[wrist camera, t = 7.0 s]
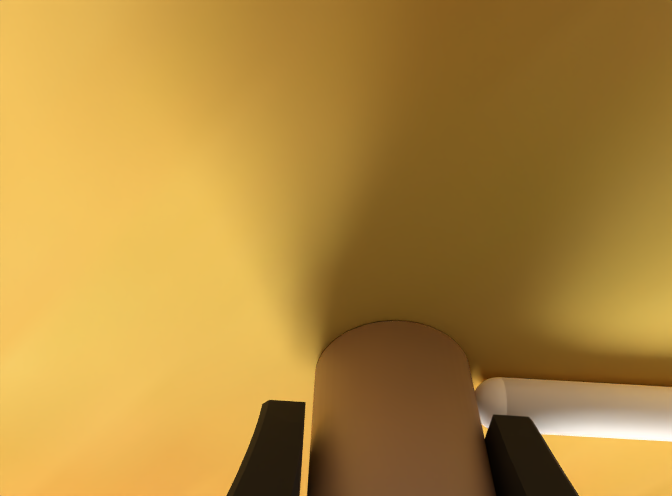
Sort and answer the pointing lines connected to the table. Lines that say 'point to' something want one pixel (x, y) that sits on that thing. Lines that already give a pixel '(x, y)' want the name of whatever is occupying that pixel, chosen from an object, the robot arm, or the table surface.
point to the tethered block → (444, 414)
